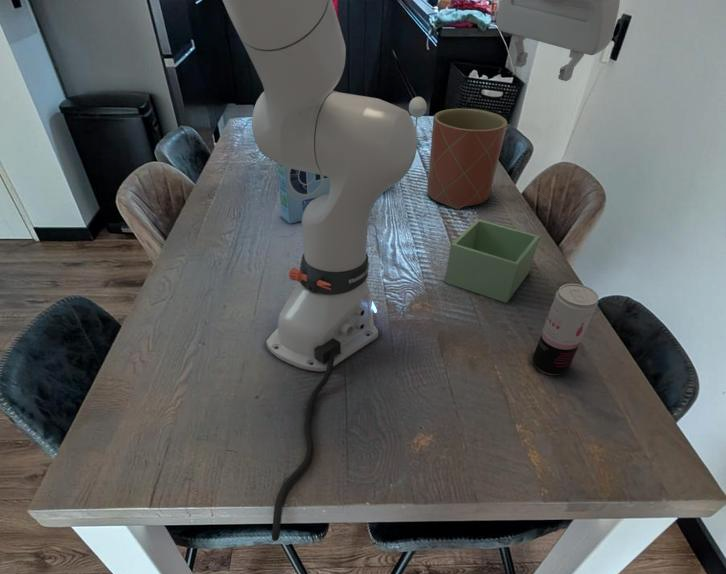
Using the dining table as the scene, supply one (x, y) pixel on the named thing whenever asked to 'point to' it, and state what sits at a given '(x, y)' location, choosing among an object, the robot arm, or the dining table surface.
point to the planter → (464, 155)
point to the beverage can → (564, 328)
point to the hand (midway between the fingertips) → (541, 72)
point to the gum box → (299, 191)
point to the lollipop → (417, 107)
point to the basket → (491, 259)
